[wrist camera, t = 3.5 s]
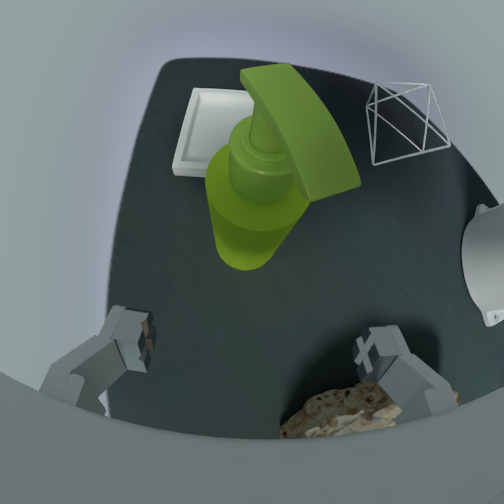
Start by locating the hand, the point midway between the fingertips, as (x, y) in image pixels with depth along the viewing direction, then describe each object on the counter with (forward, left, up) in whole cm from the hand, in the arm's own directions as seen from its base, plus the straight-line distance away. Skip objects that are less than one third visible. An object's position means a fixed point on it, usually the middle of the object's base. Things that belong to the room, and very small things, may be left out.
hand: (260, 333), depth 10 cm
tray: (+1, -20, -16) cm, 26 cm away
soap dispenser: (0, -7, -16) cm, 18 cm away
